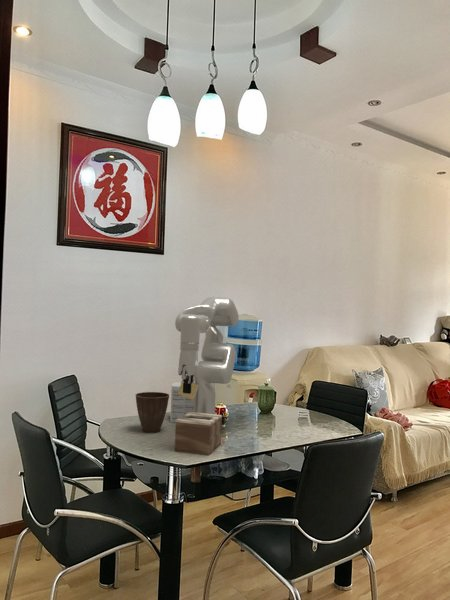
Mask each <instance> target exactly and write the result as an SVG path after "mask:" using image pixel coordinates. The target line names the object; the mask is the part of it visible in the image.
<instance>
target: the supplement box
mask: <svg viewBox="0 0 450 600" xmlns="http://www.w3.org/2000/svg"><path fill="white" fill-rule="evenodd" d="M181 382H182V381H181ZM181 382H179V381H177V382H176V381H175V382H174V381H172V384H171V394H170V395H171V396H170V397H171V398H170V423H176V420H177V419H178V418H180V417H182V416H184V415H185V414H187V413H189V412H194V399H193V400H191V399H189V398H186V397H184V396H181V395H179V394H178V392H179V389H180V385H181Z"/></svg>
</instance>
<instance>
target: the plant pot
mask: <svg viewBox="0 0 450 600" xmlns="http://www.w3.org/2000/svg"><path fill="white" fill-rule="evenodd" d="M169 399H170V394H169V393H166V392H157V391H156V392H155V391H148V392H147V391H144V392H138V393H136V394H135V402H136V408H137V414H138V419H139V423H140V426H141V429H142V431H143V432H144V433H158V432H160V431H161V428H162V425H163V423H164V420H165V417H166V413H167V410H168V405H169Z"/></svg>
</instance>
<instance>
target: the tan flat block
mask: <svg viewBox="0 0 450 600" xmlns="http://www.w3.org/2000/svg"><path fill="white" fill-rule="evenodd" d="M190 383H191V393H190V394H187V393H183V379H181V385H180V389H179V392H178V394H179V395H181V396H184V397H186V398H189V399H191V400H193V399H195V396H196V393H197V389H198V386H199V385H198V384H196V383H193V382H190Z"/></svg>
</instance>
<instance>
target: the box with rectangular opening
mask: <svg viewBox="0 0 450 600" xmlns="http://www.w3.org/2000/svg"><path fill="white" fill-rule="evenodd" d="M222 419H223V415H221V414H216V413H215V414H205V413H195V412H189V413H187V414H185V415H184V416H182V417H180V418H178V419H177V420H176V422H175V434H174V435H175V436H174V452H181V453H188V454H196V455H197V454H198V455H205V456H210V455H211V454H212V453H213V452H214V451H215V450H216V449H217V448H219V447H220V446H221V444H222V424H223V423H222V422H223V420H222Z"/></svg>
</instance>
